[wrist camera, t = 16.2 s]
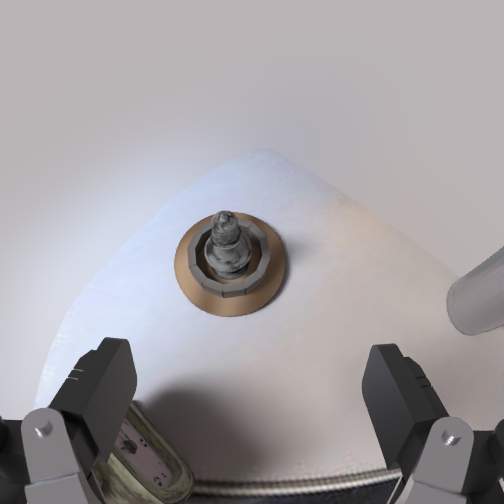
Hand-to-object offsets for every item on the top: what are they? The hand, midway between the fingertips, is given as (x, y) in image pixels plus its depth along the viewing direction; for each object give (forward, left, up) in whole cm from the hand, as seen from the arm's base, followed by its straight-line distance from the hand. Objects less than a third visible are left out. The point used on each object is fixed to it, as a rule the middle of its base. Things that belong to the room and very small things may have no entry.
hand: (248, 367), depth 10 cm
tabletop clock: (+9, +13, -31) cm, 35 cm away
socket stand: (+8, -15, -30) cm, 35 cm away
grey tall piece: (+8, -14, -29) cm, 34 cm away
